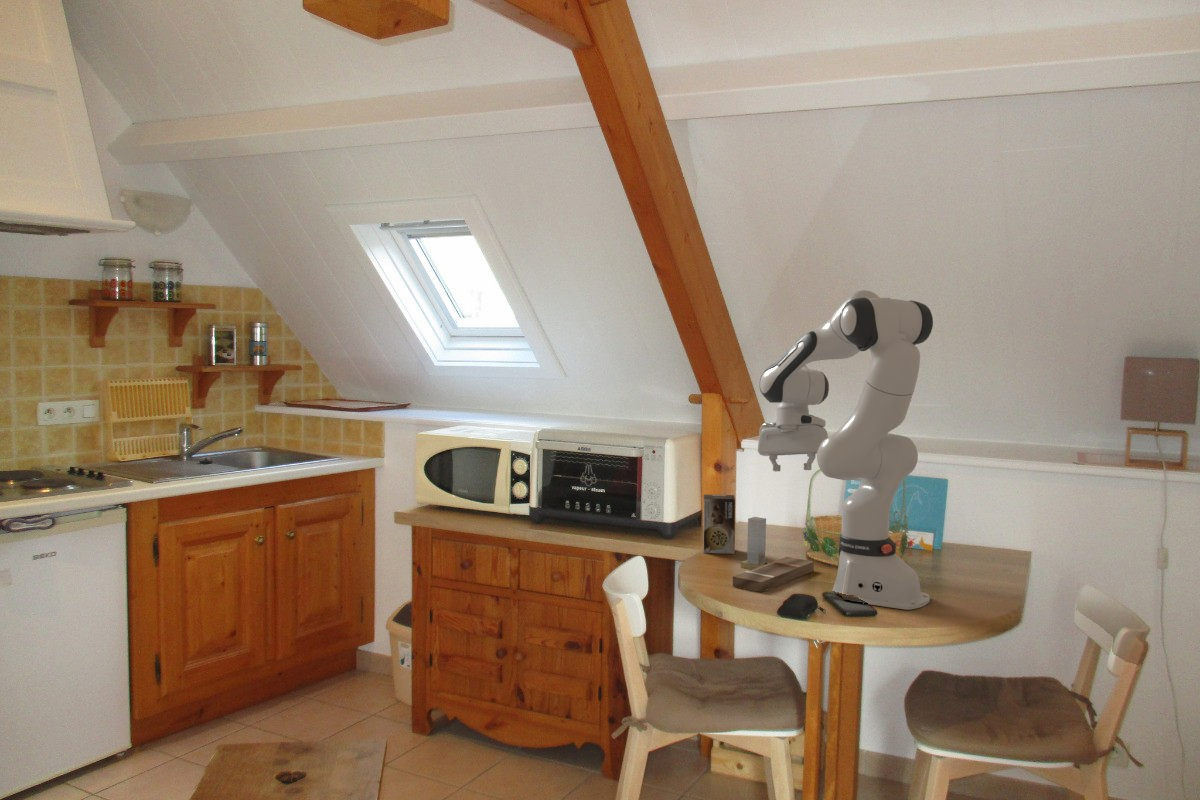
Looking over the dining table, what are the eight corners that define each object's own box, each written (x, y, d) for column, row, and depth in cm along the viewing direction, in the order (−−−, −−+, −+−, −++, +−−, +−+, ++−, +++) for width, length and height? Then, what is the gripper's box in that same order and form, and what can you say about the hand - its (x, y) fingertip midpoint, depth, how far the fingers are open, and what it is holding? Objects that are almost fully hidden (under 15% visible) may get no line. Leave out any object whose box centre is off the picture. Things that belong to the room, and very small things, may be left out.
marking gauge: (771, 569, 249) (772, 519, 248) (763, 571, 246) (765, 521, 245) (748, 564, 254) (749, 515, 253) (740, 567, 251) (741, 517, 250)
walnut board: (813, 570, 248) (813, 561, 248) (761, 592, 226) (761, 581, 226) (786, 565, 253) (786, 556, 253) (732, 586, 232) (732, 575, 231)
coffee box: (733, 549, 272) (735, 494, 271) (734, 554, 266) (736, 498, 264) (702, 548, 273) (703, 493, 272) (702, 553, 266) (703, 497, 265)
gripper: (754, 422, 264) (753, 470, 261) (820, 416, 251) (820, 467, 248) (765, 425, 268) (764, 473, 266) (831, 420, 255) (830, 470, 253)
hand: (791, 470), depth 257 cm, fingers open, 8 cm apart
